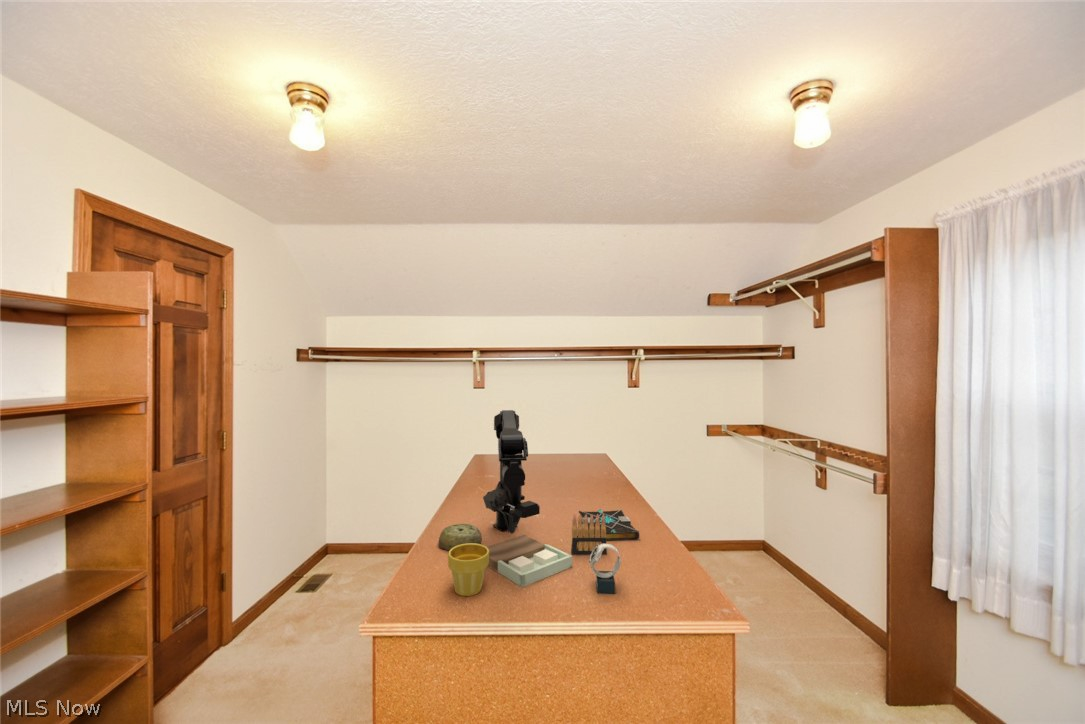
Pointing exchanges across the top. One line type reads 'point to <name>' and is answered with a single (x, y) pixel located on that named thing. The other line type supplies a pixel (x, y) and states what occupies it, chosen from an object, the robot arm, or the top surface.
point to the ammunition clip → (587, 535)
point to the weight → (459, 536)
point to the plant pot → (468, 567)
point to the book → (613, 525)
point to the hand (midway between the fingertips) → (511, 532)
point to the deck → (513, 550)
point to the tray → (536, 568)
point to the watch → (604, 578)
